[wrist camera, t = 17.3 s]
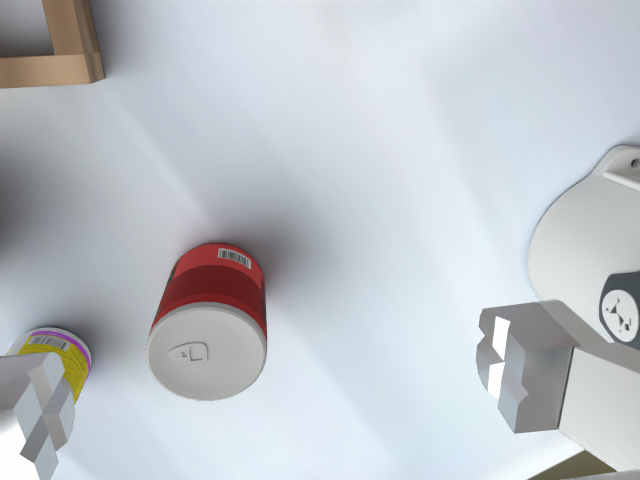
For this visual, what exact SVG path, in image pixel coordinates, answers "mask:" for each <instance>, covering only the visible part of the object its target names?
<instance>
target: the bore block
mask: <svg viewBox="0 0 640 480" xmlns="http://www.w3.org/2000/svg"><path fill="white" fill-rule="evenodd" d="M42 3H43V7H44V11H45V16H46V20H47V24H48V28H49V33H50V37H51V41H52V45H53V50H54V54H46V55H25V56H4V57H0V88H19V87H37V86H56V85H74V84H91V83H94V82H97V81H100V80H102V79H105V76H104V71H103V66H102V61H101V56H100V51H99V46H98V41H97V36H96V31H95V26H94V21H93V16H92V11H91V6H90V1H89V0H42Z"/></svg>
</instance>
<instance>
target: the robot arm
mask: <svg viewBox="0 0 640 480" xmlns="http://www.w3.org/2000/svg"><path fill="white" fill-rule="evenodd" d="M634 159H635V162H634V163H633V165H631V162H632V161H633V160H634ZM527 267H528V275H529V279H530V282H531V285H532V287H533V289H534V291H535V292H536V294H537V295H538V296H539V297H540V299H541V300H542V301H538V302H531V303H525V304H517V305H509V306H501V307H493V308H485V309H483V310H482V313H481V315H480V321H479V328H480V329H481V331H482V332H483V333H484V335H485V337H484V338H483V339H482V340H481V342H480V343H479V344H478V345H477V355H476V362H477V368H478V374H479V376H480V379H481V382H482V384H483V385H484V387H485V389H486V390H487V392H488V393H490V394H492V395H494V396H495V397H497V398H499V402H498V409H499V411H500V412H501V414H502V416H503V417H504V419H505V420H506V422H507V423H508V425H509V426H510V428H511V429H512V431H513V433H514V434H515V433H525V432H535V431H546V430H556V429H559V432H560V433H562V434H563V435H565V436H566V437H568V438H569V439H571V440H572V441H574V442H575V443H577V444H578V445H580V446H581V447H583V448H584V449H586V450H587V451H589V452H590V453H592V454H593V455H594V456H596V457H597V458H599V459H601V460H602V461H604V462H605V463H606V464H608V465H609V466H611V467H613V468H614V469H615V470H617V471H618V472H614V473H607V474H600V475H593V476H585V477H579V478H571V479H563V480H640V147H634V146H626V145H619V146H616V147H614V148H613V149H611V150H610V151H609V152H608V153H607V154H606V155H605V156H604V157H603V158H602V160H601V161H600V162H599V164H598V165H597V166H596V167H595V169H594V170H593V171H592V173H591V174H590V175H589V176H587V177H586V178H585V179H584V180H582V181H581V182H579V183H578V184H576V185H575V186H573V187H572V188H571V189H569V190H568V191H567V192H565V193H564V194H563V195H562V196H561V197H559V198H558V199H557V200H556V201H555V202H554V203H553V205H552V206H551V207H550V208H549V209H548V210H547V212H546V213H545V214H544V216H543V217H542V219H541V220H540V222H539V224H538V226H537V227H536V230H535V232H534V234H533V237H532V239H531V242H530V246H529V251H528V259H527ZM64 372H65V369H64V366H63V363H62V361H61V358H60V356H59V355H58V354H56V353H55V352H45V353H33V354H21V355H9V356H0V480H50V479H51V477H52V475H53V473H54V470H55V468H56V466H57V464H58V458H57V455H56V451H57V450H58V449H59V448H61V447H62V446H63V445H64V444H66V443H67V442H68V439H69V437H70V435H71V432H72V430H73V424H74V417H75V408H74V400H73V396H72V392H71V390H70V389H69V388H67V387H66V386H65V385H63V384H62V383H61V382H60V379H61V377H62V375H63V374H64Z"/></svg>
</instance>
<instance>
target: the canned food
mask: <svg viewBox="0 0 640 480" xmlns="http://www.w3.org/2000/svg"><path fill="white" fill-rule="evenodd" d="M266 355H267V323H266V301H265V282H264V276H263V273H262V270H261V268H260V267H259V265H258V264H257V262H256V261H255V260H254V259H253V258H252V257H251V256H250V255H249V254H248V253H247V252H245V251H244V250H242V249H240V248H238V247H236V246H233V245H229V244H225V243H211V244H205V245H201V246H198V247H196V248H194V249H192V250H190V251H189V252H187V253H186V254H185V255H183V256H182V257H181V258H180V259H179V260H178V261H177V263H176V264H175V265H174V267H173V269H172V271H171V274H170V277H169V279H168V282H167V285H166V288H165V291H164V293H163V296H162V299H161V302H160V305H159V307H158V310H157V313H156V316H155V319H154V321H153V324H152V327H151V331H150V334H149V337H148V341H147V347H146V361H147V365H148V368H149V370H150V372H151V374H152V376H153V377H154V378H155V380H156V381H157V382H158V383H159V384H160V385H161V386H162V387H164V388H165V389H166V390H168V391H170V392H171V393H173V394H175V395H177V396H180V397H183V398H186V399H191V400H197V401H214V400H222V399H225V398H228V397H232V396H234V395H236V394H238V393H240V392H242V391H244V390H245V389H247V388H248V387H250V386H251V385H252V384H253V383H254V382H255V381H256V380H257V378H258V377H259V375H260V374H261V372H262V371H263V368H264V365H265V362H266Z"/></svg>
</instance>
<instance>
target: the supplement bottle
mask: <svg viewBox="0 0 640 480" xmlns="http://www.w3.org/2000/svg"><path fill="white" fill-rule="evenodd" d="M45 352H55V353H56V354H58V355H59V356H60V358H61V361H62V363H63V366H64V369H65V372H64V374H63V375H62V377H61V379H60V382H61V383H62V384H63V385H65V386H66V387H67V388H69V389H70V390H71V392H72V396H73V400H74V405H75V403H76V401H77V399H78V397H79V395H80V393H81V390H82V388H83V386H84V384H85V382H86V380H87V378H88V375H89V373H90V370H91V365H92V359H91V354H90V351H89V349H88V347H87V346H86V344H85V343H84V342H83V341H82V340H81V339H79V338H78V337H77V336H75V335H74V334H72V333H70V332H68V331H66V330H62V329H58V328H39V329H35V330H32V331H29V332H27V333H25V334H24V335H22V336H21V337H20V338H19V339H18V340H17V341H16V342H15V343H14V344H13V346H12V347H11V348H10V350H9V351H8V352H7V354H6V355H5V356H9V355H21V354H33V353H45Z"/></svg>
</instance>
